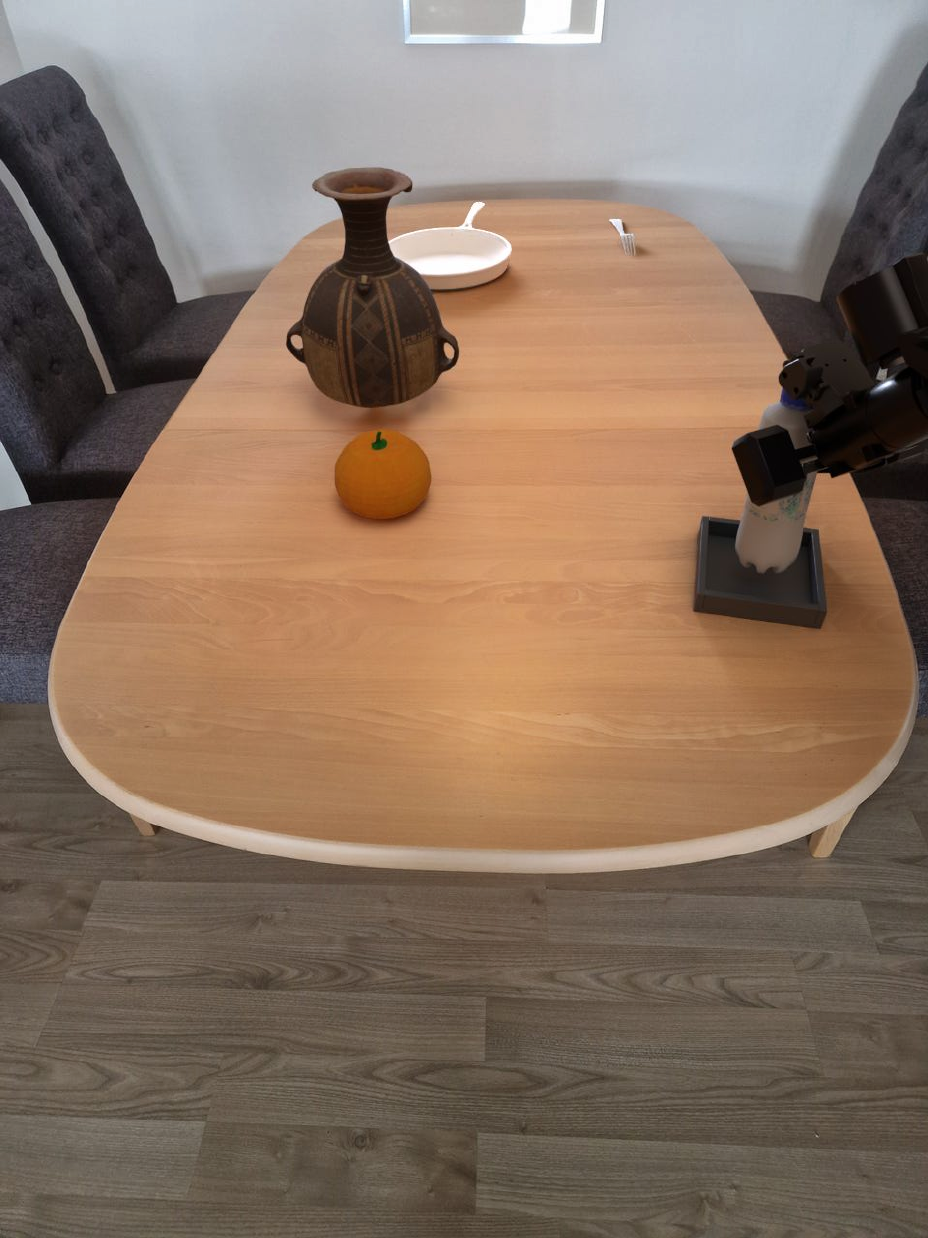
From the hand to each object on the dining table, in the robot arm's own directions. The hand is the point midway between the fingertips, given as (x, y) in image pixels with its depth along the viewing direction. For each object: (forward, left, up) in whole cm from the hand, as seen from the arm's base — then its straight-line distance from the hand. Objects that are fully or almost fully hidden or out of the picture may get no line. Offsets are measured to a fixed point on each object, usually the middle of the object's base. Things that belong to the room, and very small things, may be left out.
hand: (773, 475), depth 80 cm
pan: (+55, -86, -12) cm, 103 cm away
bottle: (-1, +2, -10) cm, 10 cm away
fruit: (+43, -4, -12) cm, 45 cm away
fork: (+24, -102, -12) cm, 106 cm away
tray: (-1, +1, -12) cm, 12 cm away
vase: (+51, -27, -12) cm, 59 cm away
